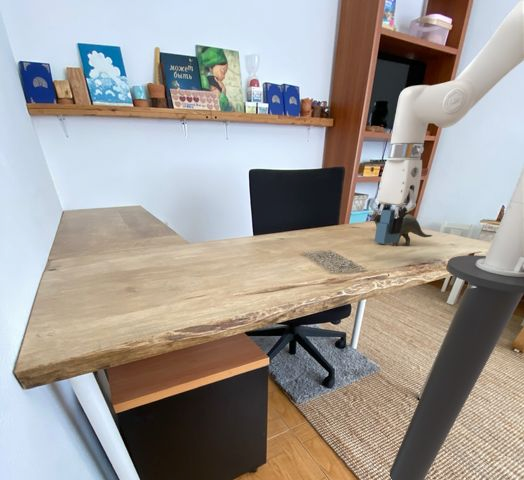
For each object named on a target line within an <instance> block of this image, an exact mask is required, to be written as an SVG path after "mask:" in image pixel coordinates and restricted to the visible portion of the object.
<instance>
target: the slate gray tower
mask: <svg viewBox="0 0 524 480" xmlns="http://www.w3.org/2000/svg"><path fill="white" fill-rule="evenodd" d="M401 210H402V209H400V211H401ZM393 218H395V208H391V209H390V210H382V213H381V219H380V223H377V227H376V228H375V234H374V241H373V242H374V243H377V244H379V243H382V244H381V245H383V244H384V245H386V244H391V243H396V242H398V240H399V235H400V233H399V234H390V233H389V232H390V227H391V223H392V219H393ZM399 241H400V240H399Z"/></svg>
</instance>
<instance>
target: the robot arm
mask: <svg viewBox="0 0 524 480" xmlns="http://www.w3.org/2000/svg"><path fill="white" fill-rule="evenodd" d="M523 62H524V0H519V1H518V2H517V4H515V6H514V7H513V8H512V9H511V10H510V12H509V13H508V14H507V15H506V16H505V18H504V19H503V20H502V21H501V23H500V24H499V25H498V27H497V28H496V30H495V31H494V33H493V34H492V35H491V37H490V38H489V39H488V41H487V42H486V44H485V45H483V47H482V48H481V50H480V51H479V52H478V53H477V54H476V55H475V57H474V58H473V59H472V60H471V61H470V63H469V64H468V65H467V66H466V67H464V69H463V70H462V71H461V72H460V73H459V74H458V75H457V76H456V77H455V78H454V79H453V80H449V81H446V82H442V83H437V84H432V85H430V84H418V85H411V86H408V87H405V88H403V90H401V91H400V94H399V96H398V100H397V105H396V111H395V115H394V121H393V127H392V130H391V138H390V144H389V149H388V153H387V159H386V161H385V164H384V167H383V170H382V174H381V178H380V180H379V181H380V182H379V186H378V191H377V196H376V198H375V199H374V202H375V204H376V206H377V210H378V211H377V212H378V214H379V215H380V216H379V222H378V223H380V219H381V213H382V210H390V209H392V206H394V210H395V218H393V219H392V223H391V227H390V232H389V233H390V234H399V233H400V231H401V227H402V223H403V218H405V217H406V215H407V214H410V212H411V211H413V210H414V209H415V208H416V207H417V202H416V201H417V199H418V195H419V189H420V184H421V179H422V171H423V159H421V156H422V154H423V152H424V151H425V149H424V143H425V139H426V136H427V131H428V126H429V124H434V125H435V126H436V127H439V128H440V129H441V128H442V129H447V128H450V127H452V126H454V125H457V124H458V123H459V122H460V121H461V120H462V119H463V118H465V116H466V115H467V114H468V113H469V112H470V111H471V110H472V109H473V108H474V107H475V106H476V105H477V104H478V103H479V102H480V101H481V100H482V99H483V98H484V97H485V96H486V95H487V94H488V93H489V92H490V91H491V90H492V89H493V88H494V87H495V86H496V85H498V83H499V82H500V81H502V79H503V78H505V77H506V76H507V75H508V74H509V73H510V72H511V71H512V70H514V69H515V68H516V67H517V66H519V65H520V64H521V63H523ZM400 210H401V211H400ZM485 256H486V258H484V259H479V260H477V262H476V264H475V265H476V266H477V267H478V268H479V269H481V270H484V271H487V272H490V273H494V274H498V275H504V276H511V277H524V164H523V166H522V168H521V172H520V175H519V178H518V180H517V182H516V186H515V188H514V191H513V192H512V195H511V198H510V200H509V201H508V204H507V207H506V209H505V211H504V213H503V216H502V218H501V220H500V223H499V226H498V228H497V230H496V232H495V235H494V237H493V239H492V242H491V243H490V246H489V249H488V251H487V253H486V255H485Z"/></svg>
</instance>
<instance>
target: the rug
mask: <svg viewBox="0 0 524 480" xmlns="http://www.w3.org/2000/svg"><path fill="white" fill-rule="evenodd" d="M302 254H303V255H304V256H305V255H306V256H308V257H310V258H312V260H313V261H314V262H316V263H317V264H319V265H320V264H322V266H323V267H324V268H328V270H329V272H331V273H334V272H336V273H339V272H340V273H341V272H345V271H349V272H350V271H351V270H352V271H354V270H356V271H363V270H364V269H366V270H368V269H367V267H365V266H364V265H359V264H357V263H356V262H354V261H352V260H351V259H348V258H347V257H346V258H345V257H344V256H342V255H341V254H339V253H336V251H334V250H333V249H327V250H321V249H319V250H312V251H303V252H302ZM332 256H333V258H332ZM325 259H329V261H328V260H325ZM335 259H336V260H335ZM324 261H325V264H324Z"/></svg>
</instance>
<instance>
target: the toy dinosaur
mask: <svg viewBox="0 0 524 480" xmlns="http://www.w3.org/2000/svg"><path fill="white" fill-rule="evenodd" d="M371 209H372V210H373V211H372V214H371V217H370V218H371V221H372V222H374V223H375V227H376V228H377V223H378V222H379V216H380V215H379V214H378V212H379V211H378V209H376V208H374V207H373V206H371ZM409 233H411V234H413V235H416V236H419V237H422V238H431V237H433V234H427V233H425V232H423V230H422V227H421V225H420V223H419V221H418V220H417V219H416V217H415V216H414V215H412V214H410V213H408V214H407V215H406V217H405V218H403V223H402V227H401V231H400V235H399V240H398V242H396V243H390V245H391V246H394V247H395V246H398V245H399V243H400V239H401V238H402V237H403V238H404V240H405V242H404V243H403V244H402V245H403V246H409V245H410V244H411V237H410V236H409ZM378 245H383V246H384V245H385V244H382V243H378Z"/></svg>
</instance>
